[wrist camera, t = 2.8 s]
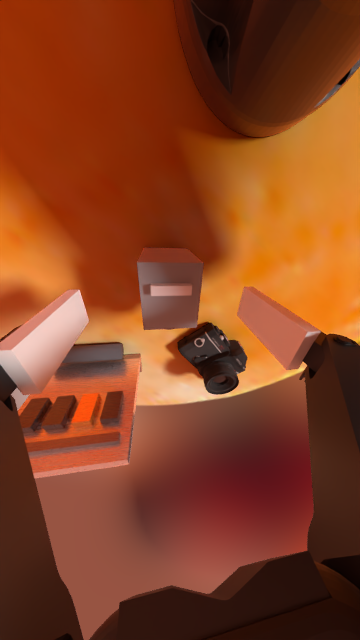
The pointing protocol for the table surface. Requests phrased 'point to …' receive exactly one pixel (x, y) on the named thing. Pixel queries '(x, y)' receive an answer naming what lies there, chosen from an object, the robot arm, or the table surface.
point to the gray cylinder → (94, 353)
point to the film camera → (214, 358)
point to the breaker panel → (82, 417)
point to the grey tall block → (169, 287)
